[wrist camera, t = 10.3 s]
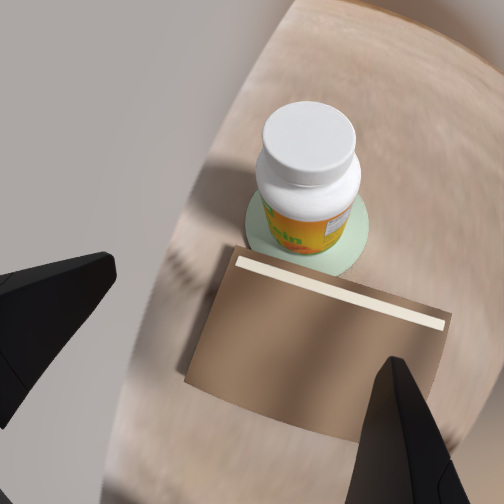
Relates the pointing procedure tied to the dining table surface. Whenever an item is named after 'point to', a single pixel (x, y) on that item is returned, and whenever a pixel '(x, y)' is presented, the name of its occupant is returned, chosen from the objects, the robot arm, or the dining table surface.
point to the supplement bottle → (307, 176)
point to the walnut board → (309, 343)
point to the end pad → (327, 262)
